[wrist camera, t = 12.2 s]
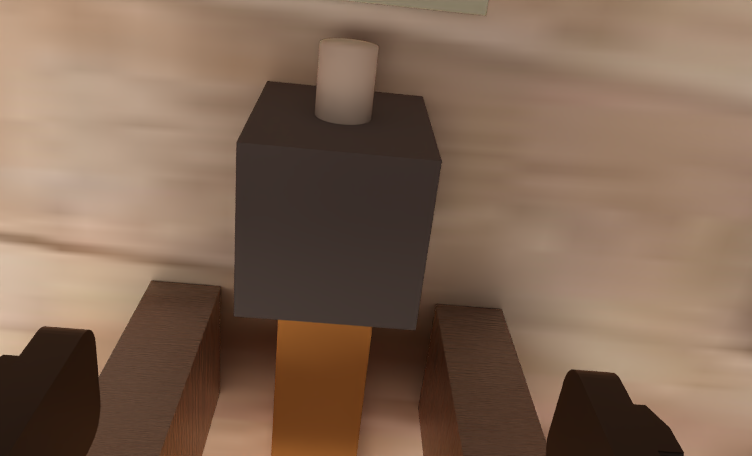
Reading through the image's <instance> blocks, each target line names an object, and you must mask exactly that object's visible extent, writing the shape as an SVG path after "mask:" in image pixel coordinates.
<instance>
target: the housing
mask: <svg viewBox="0 0 752 456" xmlns="http://www.w3.org/2000/svg"><path fill="white" fill-rule="evenodd" d="M99 389H100V401H101V409H100V418H99V424H98V428H97V432H96V435H95V438H94V440H93V443H92V445H91V447H90V449H89V451H88V453H87V455H86V456H202V454H203V450H204V447H205V443H206V440H207V436H208V433H209V429H210V426H211V422H212V419H213V415H214V412H215V408H216V405H217V401H218V398H219V394H220V286H207V285H195V284H183V283H170V282H158V281H151V282H150V284H149V286H148V288H147V290H146V292H145V293H144V295H143V297H142V299H141V301H140V303H139V304H138V306H137V308H136V310H135V312H134V314H133V315H132V317H131V319H130V321H129V323H128V325H127V326H126V328H125V330H124V332H123V334H122V336H121V337H120V339H119V341H118V343H117V345H116V347H115V348H114V350H113V352H112V354H111V356H110V358H109V359H108V361H107V363H106V365H105V367H104V369H103V370H102V372H101V374H100V376H99ZM418 410H419V419H420V429H421V438H422V447H423V456H546V440H545V437H544V434H543V431H542V428H541V425H540V422H539V419H538V416H537V413H536V410H535V407H534V404H533V401H532V398H531V395H530V392H529V389H528V386H527V383H526V380H525V377H524V374H523V371H522V368H521V365H520V362H519V359H518V356H517V354H516V351H515V348H514V345H513V342H512V339H511V336H510V333H509V330H508V327H507V324H506V321H505V318H504V315H503V312H502V309H490V308H478V307H466V306H453V305H441V304H436V307H435V313H434V319H433V325H432V331H431V337H430V342H429V348H428V354H427V360H426V366H425V372H424V378H423V384H422V389H421V395H420V401H419V407H418Z"/></svg>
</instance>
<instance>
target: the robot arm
mask: <svg viewBox="0 0 752 456" xmlns="http://www.w3.org/2000/svg"><path fill="white" fill-rule="evenodd" d="M100 409H101V401H100V389H99V377H98V365H97V354H96V342H95V337H94V334H93V332H92V331H91V330H84V329H72V328H59V327H46V326H44V327H41V328H40V329H39V330H38V331H37V332H36V334H35V335H34V337H33V338H32V339H31V341H30V342H29V343H28V345H27V346H26V347H25V349H24V350H23V352H22V353H21V354H20V356H13V355H2V356H1V357H0V456H86V455H87V453H88V451H89V449H90V447H91V445H92V443H93V440H94V438H95V435H96V432H97V428H98V424H99V418H100ZM546 456H684V452H683V450H682V449H681V447H680V445H679V443H678V442H677V440H676V438H675V436H674V435H673V433H672V431H671V429H670V428H669V427H668V426H667V425H666V424H665V423H664V422H663V421H662V420H661V419H660V418H659V417H658V416H657V415H655V414H654V413H653V412H652V411H651V410H650V409H649V408H648V407H647V406H646V405H636V404H633V403H632V401H631V399H630V397H629V395H628V393H627V391H626V389H625V387H624V386H623V384H622V382H621V380H620V378H619V377H618V376H617V375H616V374H615V373H610V372H597V371H584V370H570V371H569V372H568V373H567V374H566V377H565V379H564V382H563V386H562V389H561V392H560V396H559V399H558V403H557V406H556V410H555V413H554V416H553V420H552V423H551V427H550V430H549V433H548V437H547V443H546Z"/></svg>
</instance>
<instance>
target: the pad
mask: <svg viewBox="0 0 752 456" xmlns="http://www.w3.org/2000/svg"><path fill="white" fill-rule="evenodd" d="M344 1H353V2H362V3H371V4H381V5H390V6H399V7H408V8H418V9H427V10H436V11H445V12H454V13H464V14H473V15H482V16H486V13H487V7H488V1H489V0H344Z"/></svg>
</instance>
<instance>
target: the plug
mask: <svg viewBox="0 0 752 456" xmlns="http://www.w3.org/2000/svg"><path fill="white" fill-rule="evenodd" d="M378 50H379V47H378V46H377V45H376V44H373V43H370V42H367V41H362V40H356V39H348V38H327V39H322V40H320V44H319V59H318V74H317V86H311V85H301V84H291V83H281V82H270V81H267V83H266V85H265V87H264V89H263V91H262V93H261V95H260V97H259V99H258V101H257V103H256V105H255V107H254V109H253V111H252V113H251V115H250V117H249V119H248V121H247V123H246V125H245V127H244V129H243V131H242V133H241V135H240V136H239V138H238V140H237V147H236V210H235V273H234V316H236V317H249V318H262V319H275V320H278V332H277V352H276V372H275V393H274V413H273V433H272V453H271V456H357V448H358V440H359V431H360V423H361V415H362V407H363V399H364V390H365V382H366V374H367V366H368V357H369V349H370V341H371V333H372V327H380V328H393V329H406V330H416V324H417V318H418V311H419V305H420V298H421V292H422V285H423V279H424V272H425V266H426V260H427V253H428V247H429V240H430V234H431V227H432V221H433V214H434V208H435V202H436V195H437V189H438V182H439V176H440V169H441V163H442V160H441V157H440V154H439V150H438V147H437V144H436V140H435V137H434V134H433V130H432V127H431V124H430V120H429V117H428V114H427V110H426V107H425V104H424V100H423V97H422V96H413V95H403V94H393V93H382V92H374V88H375V79H376V69H377V59H378Z"/></svg>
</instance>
